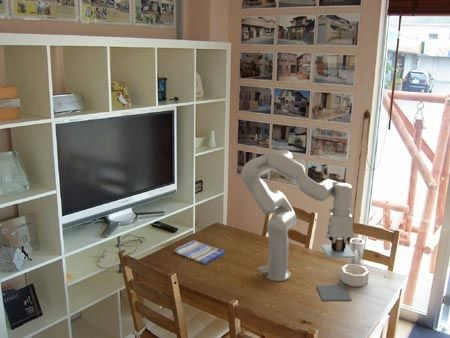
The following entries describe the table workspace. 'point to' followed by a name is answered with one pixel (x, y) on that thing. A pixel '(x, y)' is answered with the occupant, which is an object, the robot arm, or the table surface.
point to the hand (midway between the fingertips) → (338, 249)
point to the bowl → (354, 275)
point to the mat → (333, 293)
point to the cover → (338, 250)
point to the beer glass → (356, 250)
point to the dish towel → (199, 252)
